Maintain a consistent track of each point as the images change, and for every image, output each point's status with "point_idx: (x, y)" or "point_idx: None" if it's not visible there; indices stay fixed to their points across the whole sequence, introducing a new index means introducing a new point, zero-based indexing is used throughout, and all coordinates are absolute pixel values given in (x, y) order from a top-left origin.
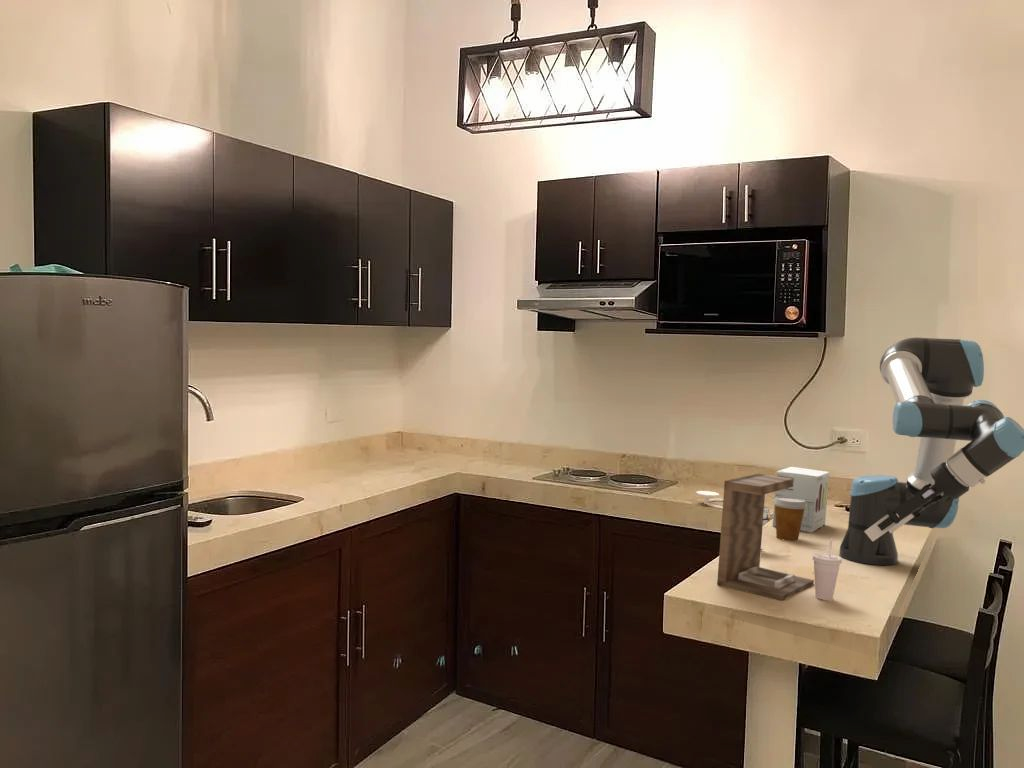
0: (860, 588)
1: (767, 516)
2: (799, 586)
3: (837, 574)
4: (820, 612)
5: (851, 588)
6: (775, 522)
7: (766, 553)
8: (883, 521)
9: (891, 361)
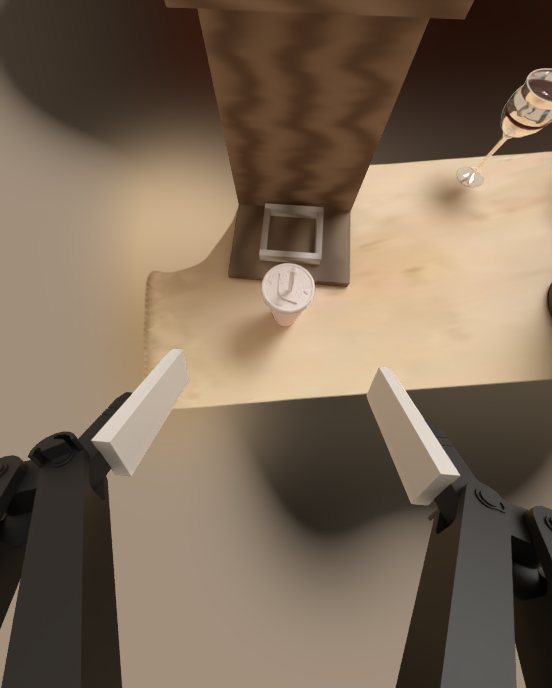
0: (383, 343)
1: (532, 120)
2: None
3: (286, 317)
4: (209, 329)
5: (371, 333)
6: None
7: (462, 193)
8: (100, 418)
9: None
